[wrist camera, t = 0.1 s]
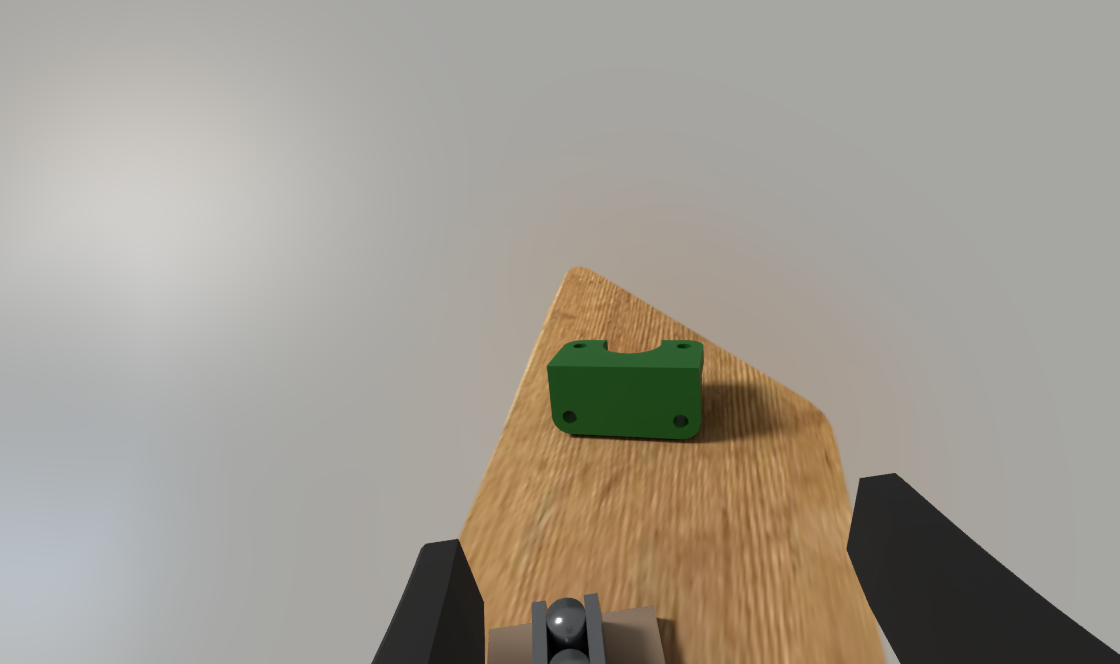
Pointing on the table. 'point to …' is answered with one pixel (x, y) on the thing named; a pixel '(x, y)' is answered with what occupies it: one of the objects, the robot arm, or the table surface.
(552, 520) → the table surface
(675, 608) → the table surface
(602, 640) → the steel ball guide
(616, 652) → the board
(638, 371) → the clamp
